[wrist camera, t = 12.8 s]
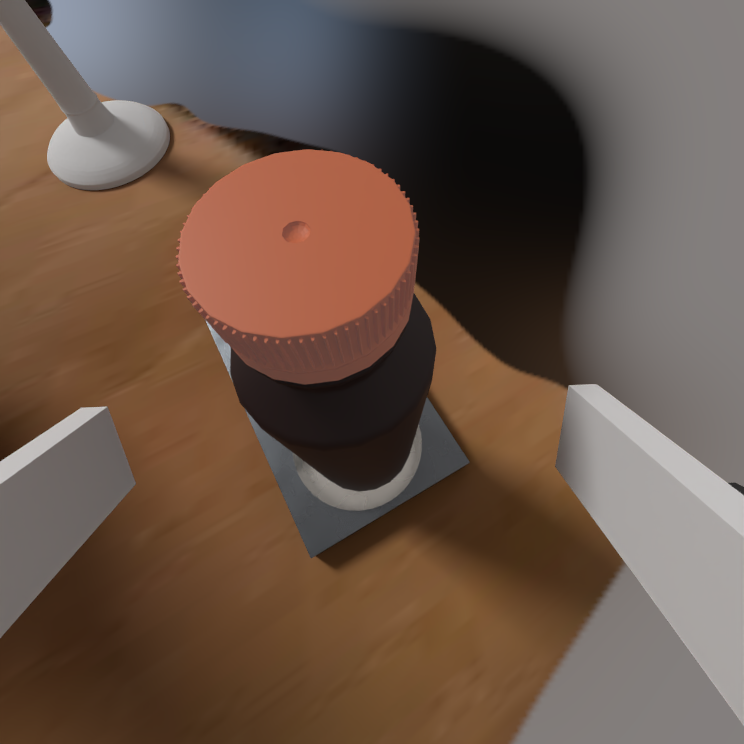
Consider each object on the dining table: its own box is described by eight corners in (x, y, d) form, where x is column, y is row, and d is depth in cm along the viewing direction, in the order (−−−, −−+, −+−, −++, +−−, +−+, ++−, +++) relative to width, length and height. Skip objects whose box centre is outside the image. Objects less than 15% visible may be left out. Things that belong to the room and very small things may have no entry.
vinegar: (325, 505, 24) (130, 443, 6) (304, 409, 27) (120, 156, 8) (424, 475, 25) (528, 331, 6) (394, 383, 27) (406, 91, 9)
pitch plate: (197, 293, 33) (161, 249, 28) (318, 237, 35) (305, 187, 30) (315, 556, 25) (295, 565, 20) (465, 465, 27) (484, 451, 21)
